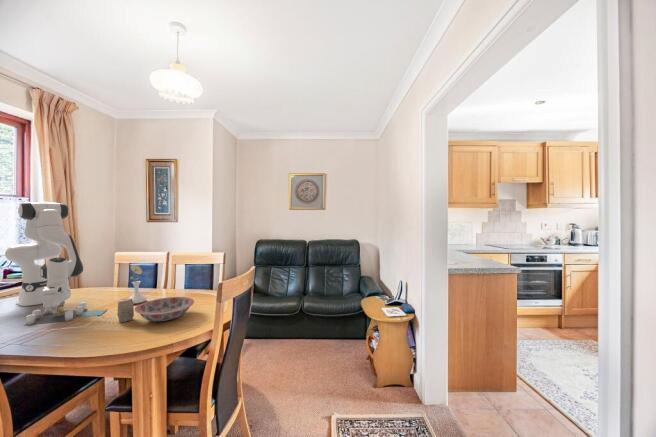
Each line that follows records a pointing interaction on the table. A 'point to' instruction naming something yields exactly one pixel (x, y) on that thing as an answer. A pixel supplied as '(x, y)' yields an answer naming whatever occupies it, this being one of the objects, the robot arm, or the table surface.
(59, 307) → the brass nut
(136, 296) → the flower in vase
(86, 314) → the teal tile
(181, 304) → the ceramic bowl
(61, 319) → the spacer mat
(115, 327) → the table surface
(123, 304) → the carving
